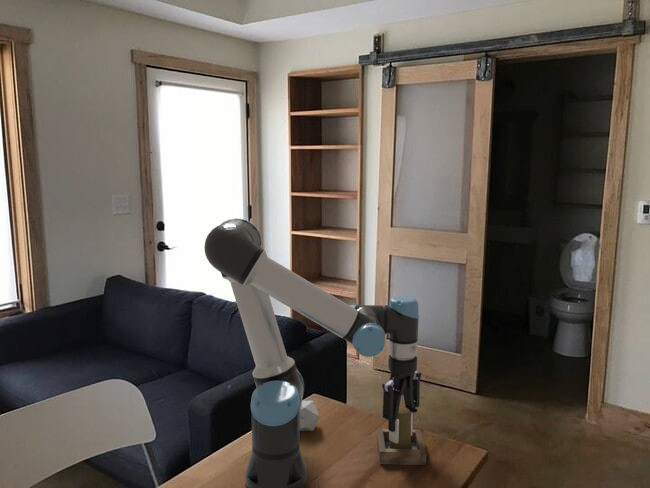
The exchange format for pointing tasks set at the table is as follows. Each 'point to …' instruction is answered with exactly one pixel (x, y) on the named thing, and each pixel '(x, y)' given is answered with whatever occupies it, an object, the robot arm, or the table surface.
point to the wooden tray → (401, 450)
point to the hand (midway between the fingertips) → (400, 437)
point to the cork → (403, 430)
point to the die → (308, 416)
